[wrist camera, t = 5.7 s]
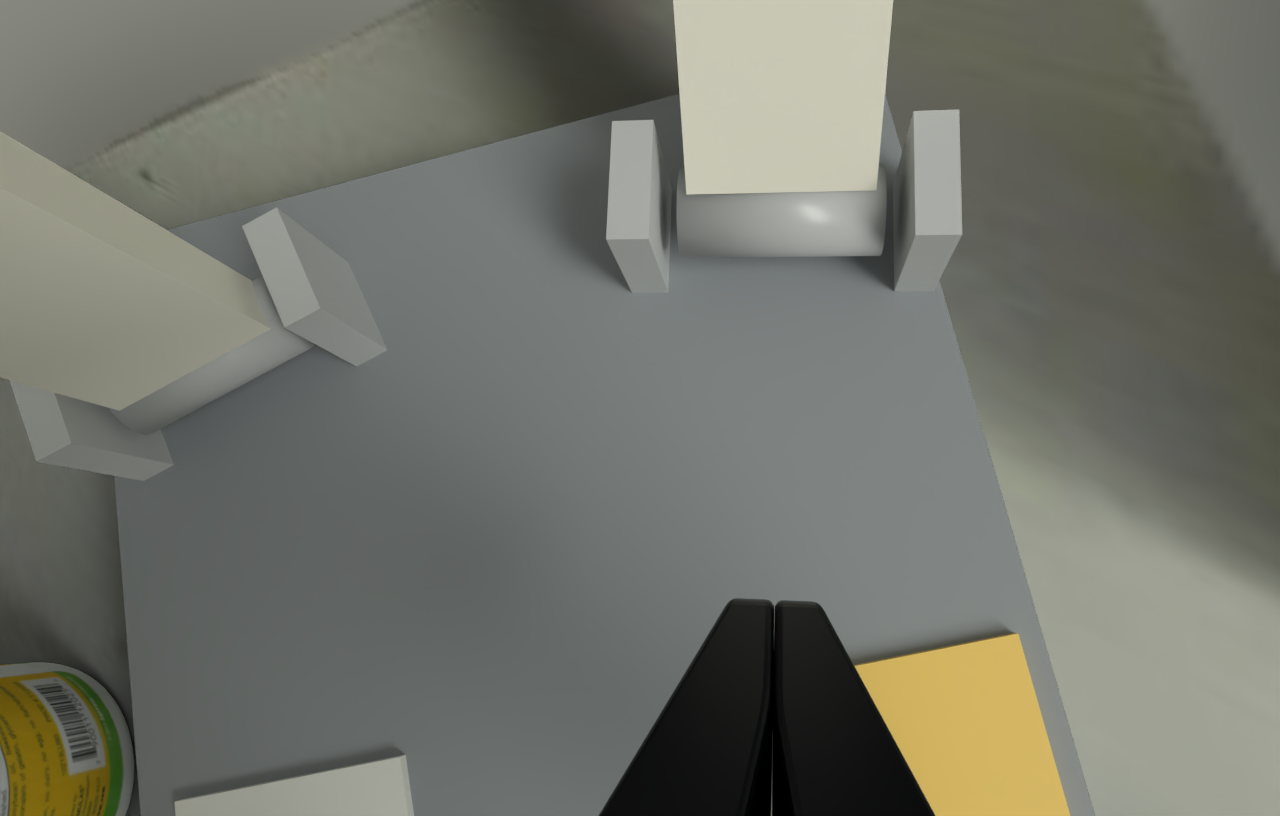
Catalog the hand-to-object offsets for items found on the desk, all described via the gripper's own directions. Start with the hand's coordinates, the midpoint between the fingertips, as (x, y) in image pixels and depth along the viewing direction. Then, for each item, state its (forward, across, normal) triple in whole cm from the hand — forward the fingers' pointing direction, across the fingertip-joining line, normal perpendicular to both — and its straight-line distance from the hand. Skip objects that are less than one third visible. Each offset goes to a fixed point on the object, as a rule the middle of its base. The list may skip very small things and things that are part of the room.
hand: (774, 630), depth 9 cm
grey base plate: (+10, +5, +8) cm, 13 cm away
